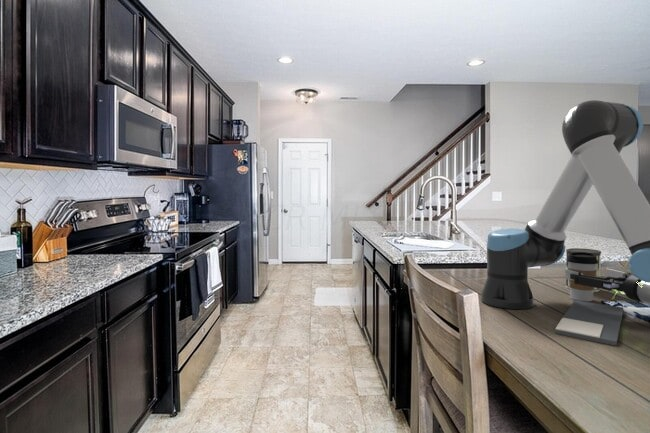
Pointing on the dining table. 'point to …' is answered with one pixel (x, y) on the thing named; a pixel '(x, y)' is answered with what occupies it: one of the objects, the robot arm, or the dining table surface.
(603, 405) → the dining table surface
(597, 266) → the coffee can
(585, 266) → the coffee cup
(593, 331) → the mat
